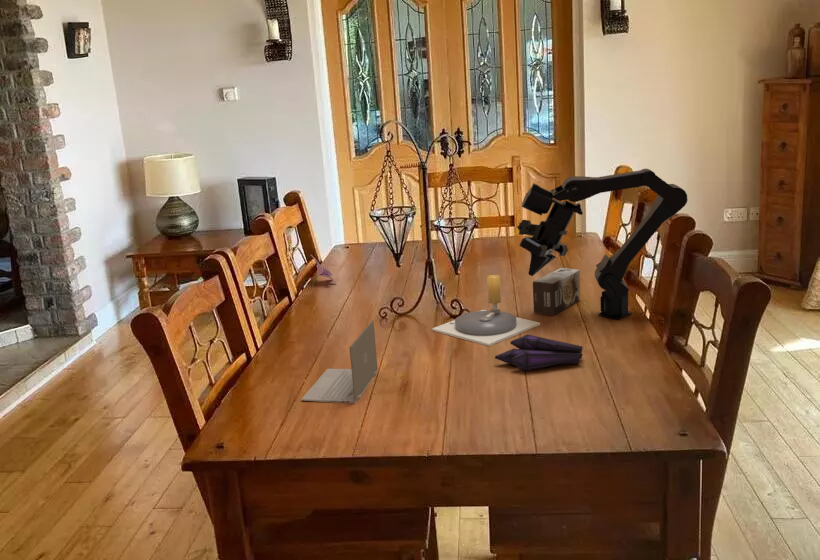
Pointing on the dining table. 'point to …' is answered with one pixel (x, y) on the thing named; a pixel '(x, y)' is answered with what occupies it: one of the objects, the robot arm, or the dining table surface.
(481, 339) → the panel
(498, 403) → the dining table surface
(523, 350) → the crystal
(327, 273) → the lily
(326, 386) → the laptop
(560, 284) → the coffee box
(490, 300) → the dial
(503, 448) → the dining table surface
